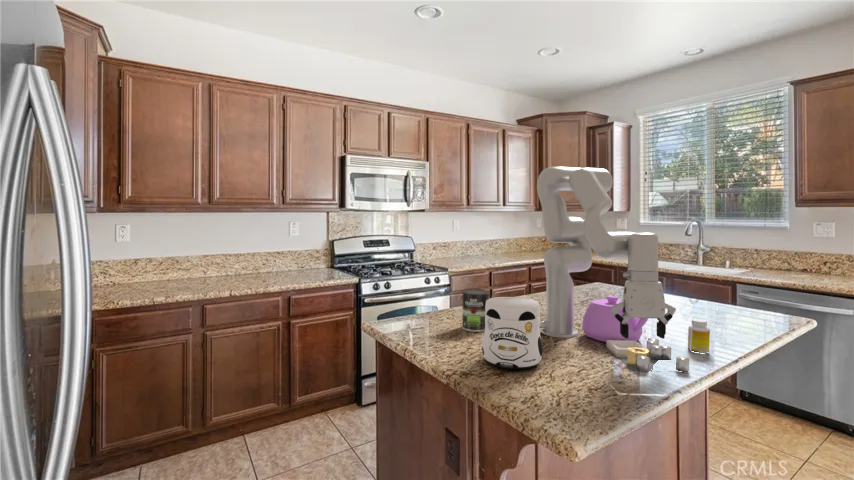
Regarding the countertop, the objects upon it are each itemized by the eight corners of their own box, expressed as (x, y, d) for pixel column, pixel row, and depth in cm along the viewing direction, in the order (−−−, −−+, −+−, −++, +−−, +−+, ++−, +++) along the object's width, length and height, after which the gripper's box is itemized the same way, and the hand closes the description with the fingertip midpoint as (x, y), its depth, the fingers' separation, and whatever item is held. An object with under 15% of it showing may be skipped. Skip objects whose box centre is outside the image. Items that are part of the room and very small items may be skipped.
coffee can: (487, 333, 149) (487, 294, 149) (459, 330, 152) (459, 293, 152) (491, 325, 159) (491, 289, 158) (465, 323, 162) (465, 288, 161)
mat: (632, 372, 112) (632, 370, 112) (606, 348, 132) (606, 347, 132) (690, 373, 111) (690, 372, 111) (655, 349, 130) (655, 348, 130)
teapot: (633, 354, 126) (634, 306, 126) (574, 337, 144) (575, 295, 143) (670, 341, 139) (671, 297, 138) (612, 327, 157) (613, 288, 156)
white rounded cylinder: (497, 377, 109) (498, 310, 107) (472, 356, 125) (472, 297, 124) (554, 370, 113) (555, 306, 112) (523, 350, 130) (523, 294, 129)
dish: (617, 357, 123) (617, 349, 123) (606, 347, 132) (606, 340, 132) (648, 357, 122) (648, 349, 122) (635, 347, 131) (635, 340, 131)
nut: (630, 366, 115) (630, 352, 115) (624, 360, 120) (625, 346, 120) (652, 367, 114) (652, 353, 114) (645, 361, 119) (646, 347, 119)
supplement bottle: (713, 355, 125) (714, 322, 124) (695, 355, 125) (697, 322, 124) (700, 349, 130) (701, 317, 130) (683, 349, 130) (684, 318, 130)
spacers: (639, 371, 111) (639, 359, 111) (611, 347, 131) (612, 337, 131) (691, 373, 110) (691, 360, 110) (655, 348, 130) (656, 338, 130)
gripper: (616, 278, 112) (616, 340, 112) (682, 278, 110) (681, 341, 111) (606, 275, 119) (606, 333, 120) (668, 275, 118) (667, 333, 118)
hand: (642, 337), depth 115 cm, fingers open, 9 cm apart
